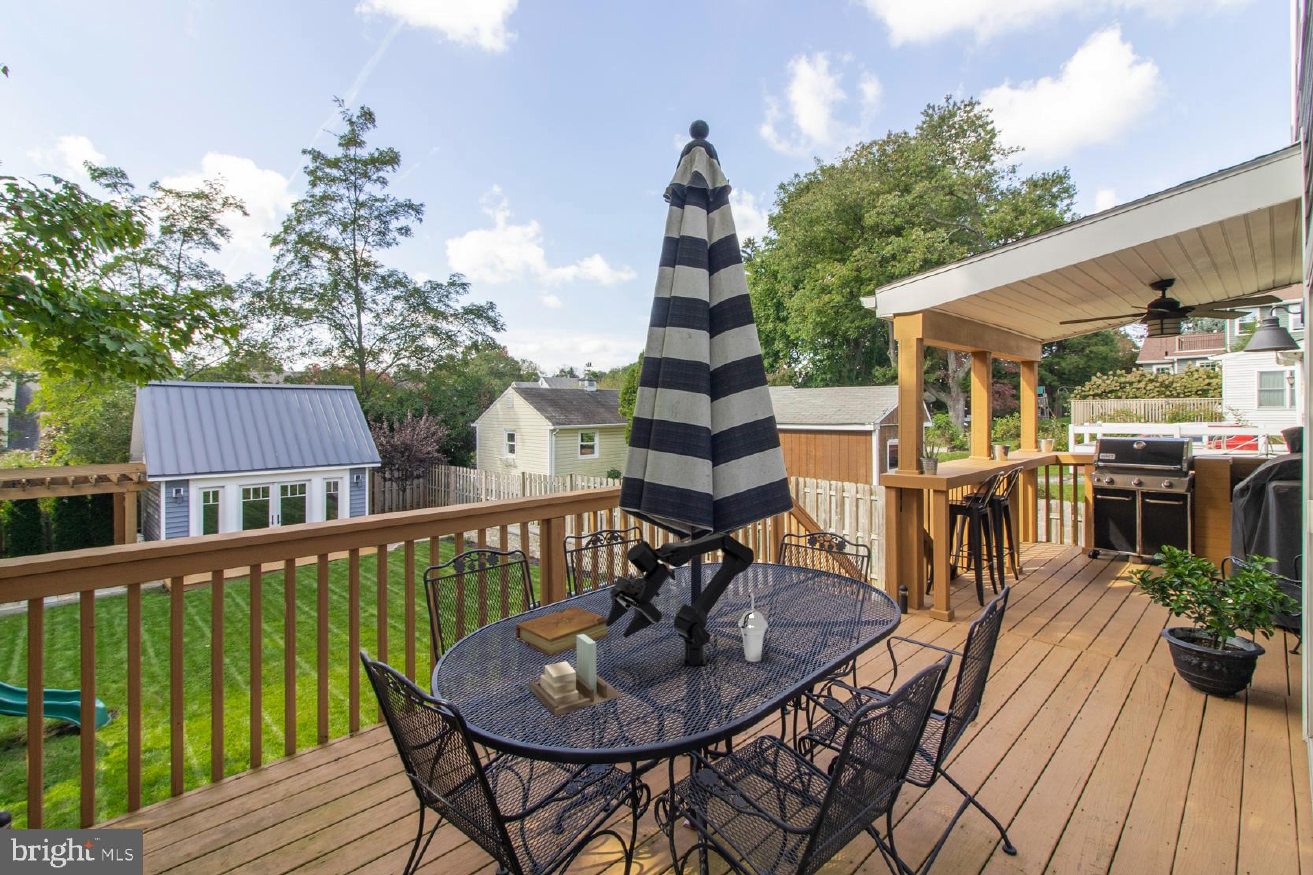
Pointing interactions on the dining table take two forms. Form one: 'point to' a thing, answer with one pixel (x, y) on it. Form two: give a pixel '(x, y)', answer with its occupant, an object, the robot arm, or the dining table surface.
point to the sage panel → (587, 660)
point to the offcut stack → (560, 683)
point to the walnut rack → (584, 696)
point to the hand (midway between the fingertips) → (615, 631)
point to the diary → (561, 630)
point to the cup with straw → (752, 632)
